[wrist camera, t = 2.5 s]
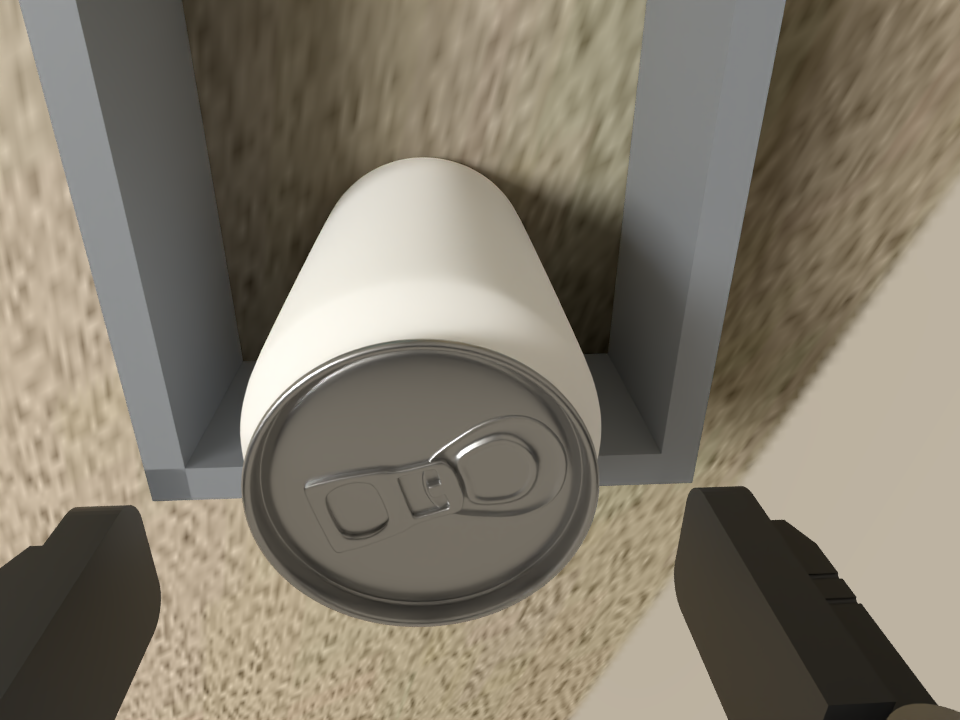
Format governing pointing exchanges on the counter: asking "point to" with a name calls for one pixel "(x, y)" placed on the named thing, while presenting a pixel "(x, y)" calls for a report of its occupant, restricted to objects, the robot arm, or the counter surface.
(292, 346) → the can
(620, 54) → the counter surface
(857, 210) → the counter surface
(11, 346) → the counter surface
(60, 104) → the bay
